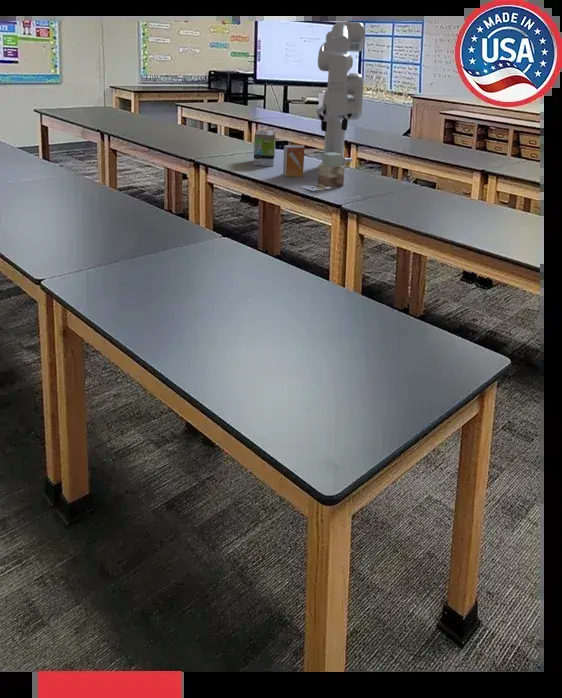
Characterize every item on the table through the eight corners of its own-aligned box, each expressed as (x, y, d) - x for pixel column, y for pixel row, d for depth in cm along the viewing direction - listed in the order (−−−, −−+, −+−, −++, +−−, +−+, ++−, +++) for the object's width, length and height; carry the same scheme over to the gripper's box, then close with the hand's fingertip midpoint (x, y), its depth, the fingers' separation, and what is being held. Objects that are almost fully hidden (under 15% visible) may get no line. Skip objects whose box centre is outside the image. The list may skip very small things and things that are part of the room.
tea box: (274, 166, 325) (275, 134, 319) (253, 165, 325) (253, 134, 319) (274, 161, 339) (275, 130, 332) (254, 160, 339) (255, 129, 332)
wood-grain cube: (333, 182, 297) (335, 163, 294) (343, 185, 291) (344, 167, 287) (317, 183, 294) (319, 164, 290) (327, 187, 287) (328, 168, 284)
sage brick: (334, 164, 292) (334, 152, 290) (341, 166, 288) (342, 154, 285) (322, 164, 290) (322, 152, 288) (329, 167, 285) (330, 155, 283)
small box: (285, 177, 303) (287, 147, 298) (282, 174, 309) (283, 145, 303) (303, 177, 305) (304, 147, 299) (299, 174, 311) (301, 144, 305)
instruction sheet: (321, 184, 292) (321, 183, 292) (334, 188, 285) (334, 188, 285) (299, 187, 285) (299, 186, 285) (311, 191, 279) (311, 190, 279)
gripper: (350, 85, 282) (347, 128, 289) (313, 86, 275) (311, 130, 282) (359, 87, 276) (356, 131, 283) (322, 88, 269) (320, 133, 276)
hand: (334, 130), depth 283 cm, fingers open, 9 cm apart
